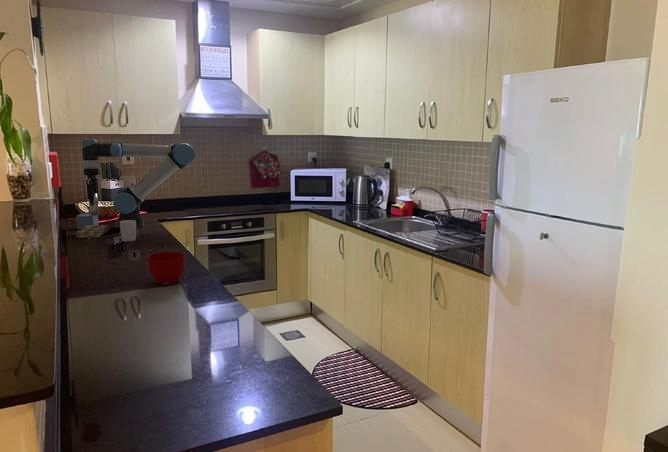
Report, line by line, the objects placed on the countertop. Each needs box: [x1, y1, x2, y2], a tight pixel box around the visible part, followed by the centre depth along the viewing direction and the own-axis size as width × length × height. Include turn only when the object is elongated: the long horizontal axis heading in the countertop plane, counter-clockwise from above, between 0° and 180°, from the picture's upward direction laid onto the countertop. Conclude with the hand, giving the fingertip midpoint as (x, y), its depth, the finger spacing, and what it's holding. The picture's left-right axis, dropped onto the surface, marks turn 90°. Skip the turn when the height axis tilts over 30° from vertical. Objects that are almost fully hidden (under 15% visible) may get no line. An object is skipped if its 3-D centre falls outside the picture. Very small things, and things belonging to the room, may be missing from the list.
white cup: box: [119, 220, 137, 243], centre depth 255 cm, size 8×8×10 cm
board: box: [75, 224, 110, 239], centre depth 271 cm, size 11×20×3 cm, turn 10°
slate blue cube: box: [75, 213, 99, 230], centre depth 287 cm, size 9×9×8 cm
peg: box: [88, 193, 100, 216], centre depth 274 cm, size 4×4×12 cm
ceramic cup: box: [147, 251, 185, 284], centre depth 184 cm, size 13×17×10 cm
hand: (94, 210), depth 274 cm, fingers closed on peg, 4 cm apart
